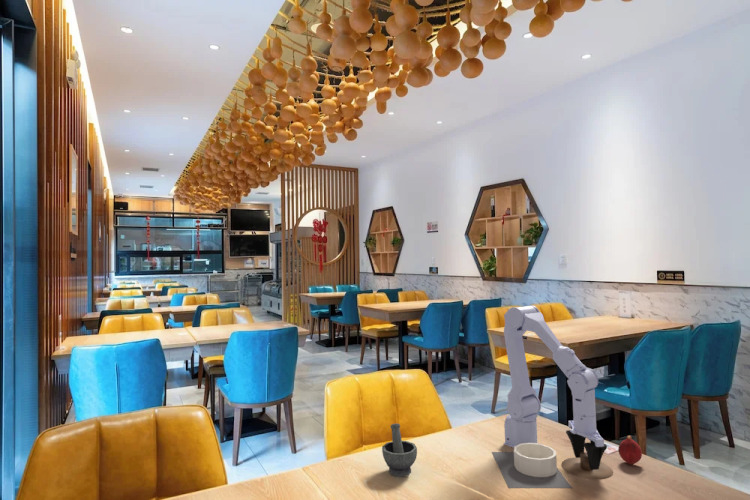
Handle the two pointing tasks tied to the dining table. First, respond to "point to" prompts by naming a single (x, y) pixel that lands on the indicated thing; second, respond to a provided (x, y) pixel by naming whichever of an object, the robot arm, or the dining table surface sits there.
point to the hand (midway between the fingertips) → (586, 462)
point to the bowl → (535, 460)
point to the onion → (630, 451)
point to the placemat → (523, 481)
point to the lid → (586, 468)
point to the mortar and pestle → (399, 454)
